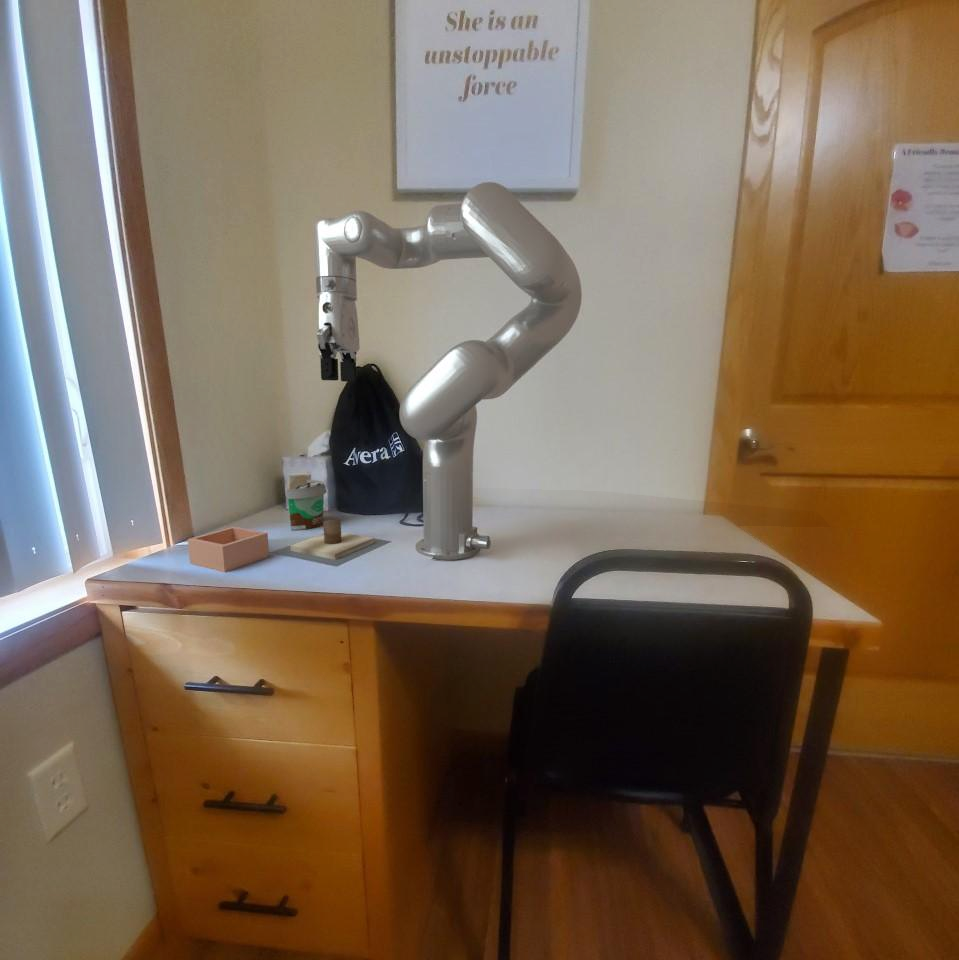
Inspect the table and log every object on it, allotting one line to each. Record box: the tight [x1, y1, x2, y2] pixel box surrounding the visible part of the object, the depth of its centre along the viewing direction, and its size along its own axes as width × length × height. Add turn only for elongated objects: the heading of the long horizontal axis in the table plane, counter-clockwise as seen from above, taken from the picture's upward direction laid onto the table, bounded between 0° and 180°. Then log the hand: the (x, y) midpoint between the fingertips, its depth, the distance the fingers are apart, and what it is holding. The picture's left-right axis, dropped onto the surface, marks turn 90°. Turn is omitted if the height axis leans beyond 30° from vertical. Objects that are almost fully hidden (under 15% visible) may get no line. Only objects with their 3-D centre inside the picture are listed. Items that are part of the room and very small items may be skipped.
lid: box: [289, 519, 375, 560], centre depth 93 cm, size 11×11×5 cm
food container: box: [286, 479, 328, 532], centre depth 108 cm, size 12×6×10 cm, turn 179°
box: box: [286, 471, 312, 519], centre depth 116 cm, size 5×4×11 cm
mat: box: [269, 535, 392, 567], centre depth 94 cm, size 16×16×1 cm
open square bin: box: [187, 526, 270, 573], centre depth 86 cm, size 9×9×5 cm
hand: (339, 380), depth 96 cm, fingers open, 9 cm apart
